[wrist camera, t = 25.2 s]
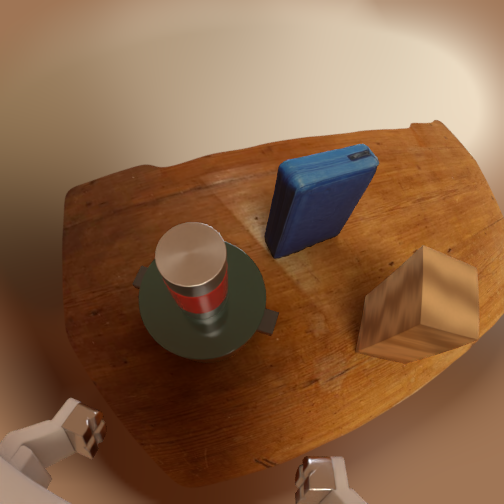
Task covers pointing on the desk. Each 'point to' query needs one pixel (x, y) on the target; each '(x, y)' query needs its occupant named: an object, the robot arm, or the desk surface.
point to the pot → (212, 329)
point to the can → (194, 268)
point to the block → (421, 309)
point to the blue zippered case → (316, 197)
